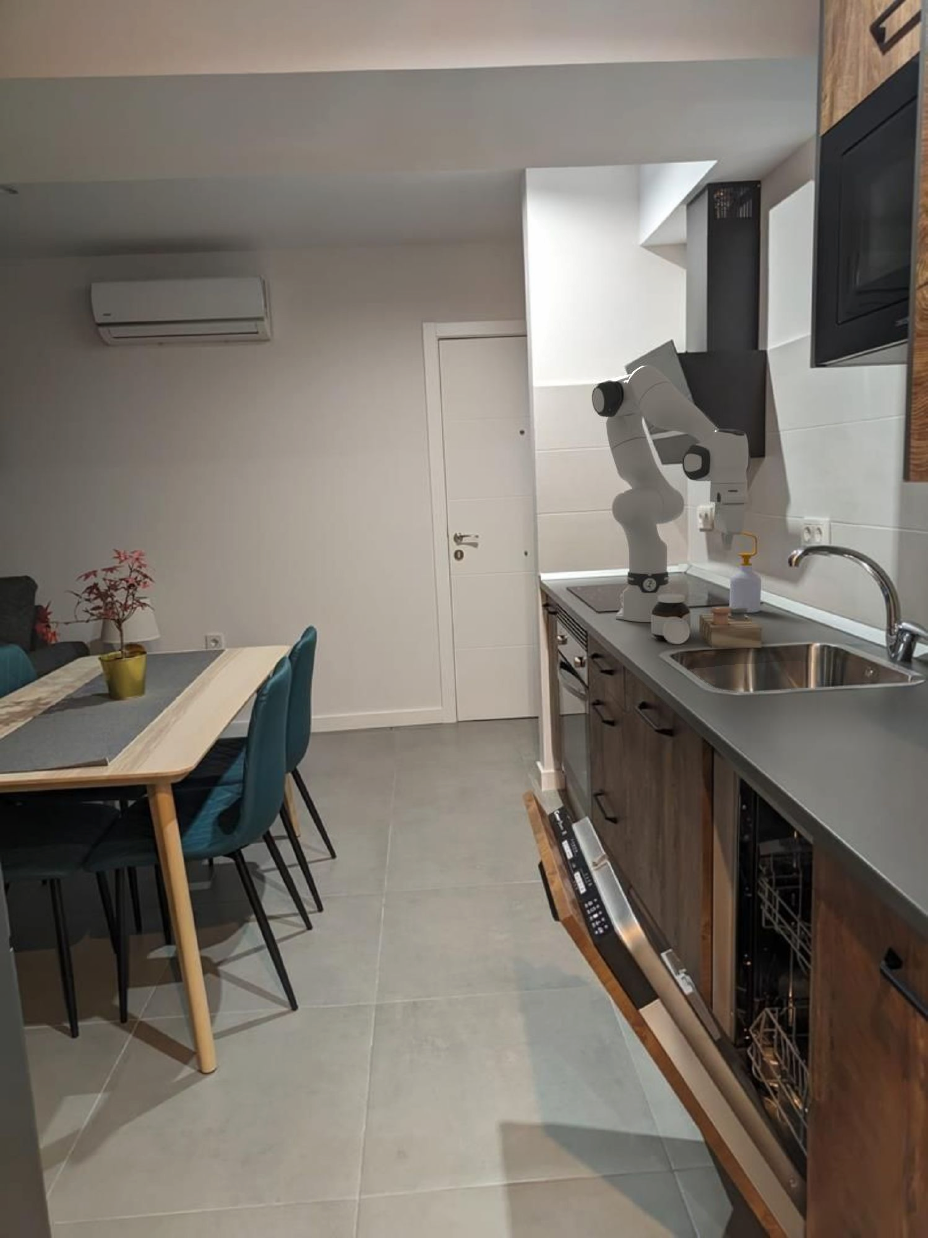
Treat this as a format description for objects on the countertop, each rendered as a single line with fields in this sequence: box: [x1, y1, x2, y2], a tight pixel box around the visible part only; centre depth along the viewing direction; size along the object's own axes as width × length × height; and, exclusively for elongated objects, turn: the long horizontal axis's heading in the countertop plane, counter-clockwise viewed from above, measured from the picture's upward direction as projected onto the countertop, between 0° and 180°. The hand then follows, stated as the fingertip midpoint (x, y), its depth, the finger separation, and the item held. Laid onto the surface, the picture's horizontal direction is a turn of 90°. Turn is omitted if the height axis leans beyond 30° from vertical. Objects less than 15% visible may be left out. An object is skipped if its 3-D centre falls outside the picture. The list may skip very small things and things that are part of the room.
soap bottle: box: [728, 531, 762, 614], centre depth 261 cm, size 9×9×25 cm
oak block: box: [698, 613, 763, 649], centre depth 221 cm, size 20×12×5 cm, turn 173°
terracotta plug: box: [710, 606, 731, 626], centre depth 216 cm, size 5×5×7 cm
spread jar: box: [650, 593, 691, 645], centre depth 221 cm, size 12×11×12 cm
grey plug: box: [728, 606, 747, 619], centre depth 225 cm, size 5×5×7 cm
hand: (726, 550), depth 213 cm, fingers closed
